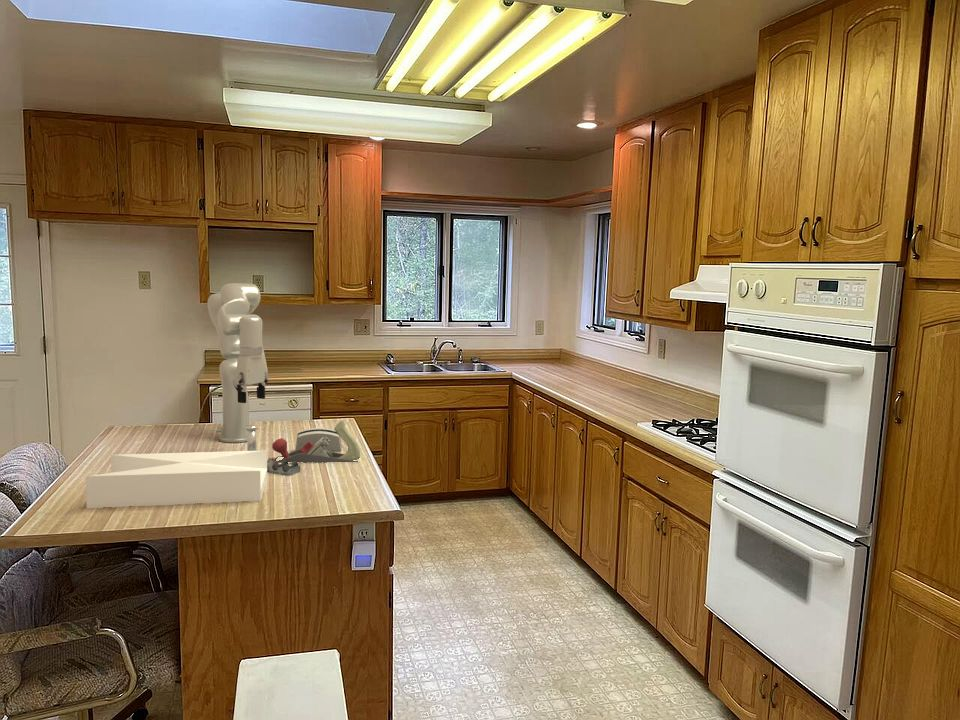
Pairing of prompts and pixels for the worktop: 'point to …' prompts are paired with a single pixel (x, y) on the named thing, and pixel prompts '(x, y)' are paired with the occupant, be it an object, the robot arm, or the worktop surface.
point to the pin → (251, 437)
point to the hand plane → (320, 449)
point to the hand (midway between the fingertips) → (251, 400)
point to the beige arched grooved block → (316, 435)
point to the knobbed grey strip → (283, 467)
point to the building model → (179, 479)
